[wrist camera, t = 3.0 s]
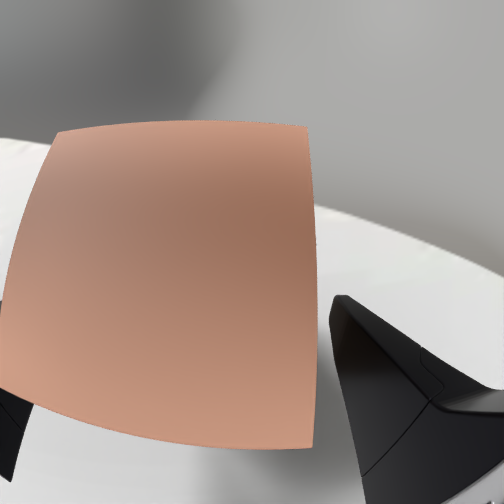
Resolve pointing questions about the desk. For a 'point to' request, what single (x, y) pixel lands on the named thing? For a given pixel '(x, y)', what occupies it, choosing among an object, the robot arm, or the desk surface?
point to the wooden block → (169, 284)
